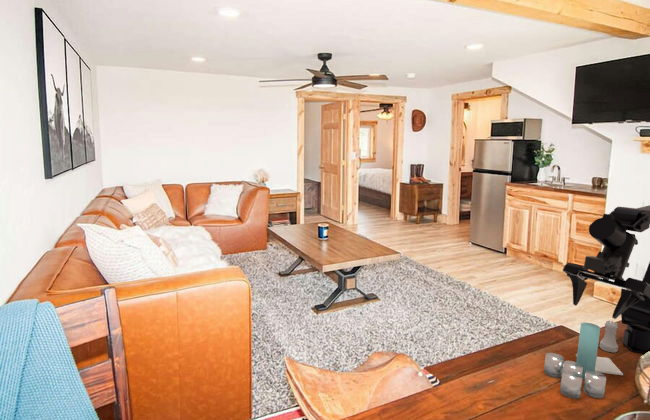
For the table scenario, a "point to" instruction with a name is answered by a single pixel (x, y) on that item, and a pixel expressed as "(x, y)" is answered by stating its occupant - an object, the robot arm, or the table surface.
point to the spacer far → (571, 384)
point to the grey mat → (606, 366)
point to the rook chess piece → (609, 338)
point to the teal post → (588, 346)
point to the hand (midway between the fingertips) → (593, 311)
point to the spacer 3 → (594, 384)
